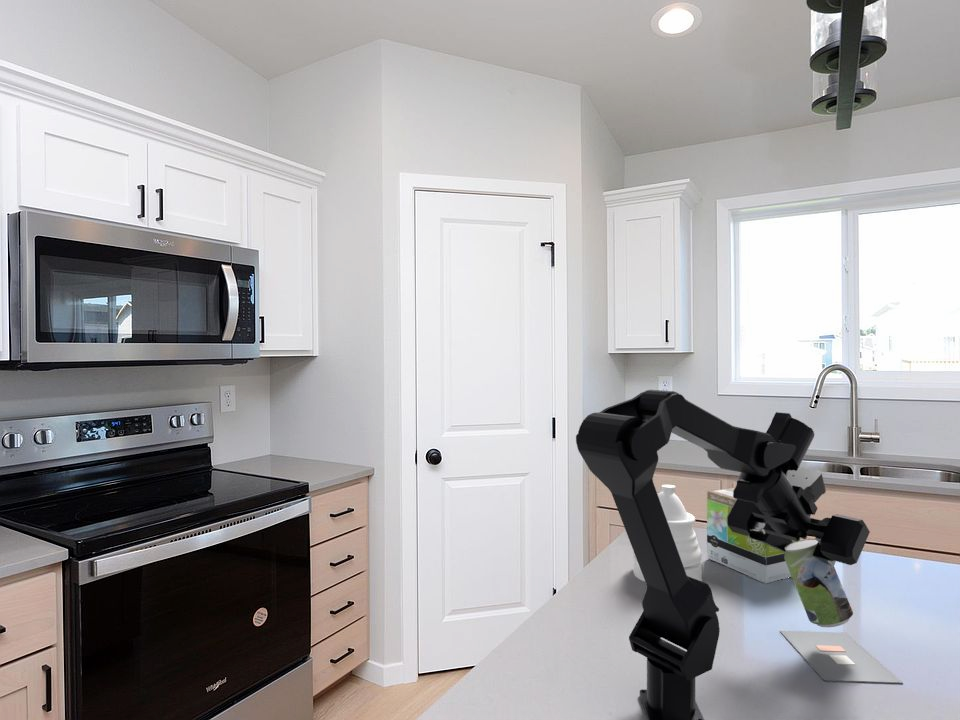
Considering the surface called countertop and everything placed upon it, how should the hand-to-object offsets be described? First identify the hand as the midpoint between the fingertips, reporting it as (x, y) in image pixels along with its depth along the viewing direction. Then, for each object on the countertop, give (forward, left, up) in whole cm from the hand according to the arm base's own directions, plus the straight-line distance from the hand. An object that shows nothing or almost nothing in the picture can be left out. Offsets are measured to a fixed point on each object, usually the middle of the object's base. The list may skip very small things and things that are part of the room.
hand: (813, 558), depth 91 cm
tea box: (+30, -2, -13) cm, 33 cm away
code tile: (-5, -1, -12) cm, 13 cm away
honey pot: (+25, +16, -13) cm, 32 cm away
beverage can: (-3, -1, -9) cm, 9 cm away
